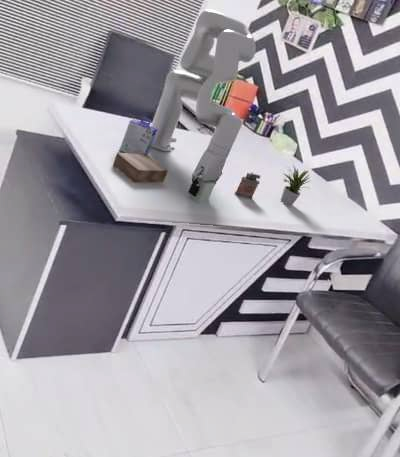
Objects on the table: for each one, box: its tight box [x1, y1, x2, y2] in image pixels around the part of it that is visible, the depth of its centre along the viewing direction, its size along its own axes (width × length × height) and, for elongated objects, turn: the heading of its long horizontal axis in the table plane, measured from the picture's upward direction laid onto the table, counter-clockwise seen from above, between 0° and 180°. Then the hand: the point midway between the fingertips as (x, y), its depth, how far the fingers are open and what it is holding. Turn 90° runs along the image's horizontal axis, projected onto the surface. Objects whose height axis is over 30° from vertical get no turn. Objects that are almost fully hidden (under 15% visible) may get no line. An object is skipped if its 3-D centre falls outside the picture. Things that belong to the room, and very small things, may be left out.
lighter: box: [234, 172, 261, 200], centre depth 203 cm, size 8×3×10 cm, turn 117°
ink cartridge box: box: [119, 116, 157, 156], centre depth 194 cm, size 10×6×14 cm, turn 79°
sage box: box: [187, 175, 216, 203], centre depth 183 cm, size 6×6×7 cm
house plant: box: [280, 165, 312, 207], centre depth 217 cm, size 14×14×16 cm
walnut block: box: [113, 152, 169, 183], centre depth 181 cm, size 14×12×5 cm
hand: (199, 193), depth 184 cm, fingers open, 8 cm apart
